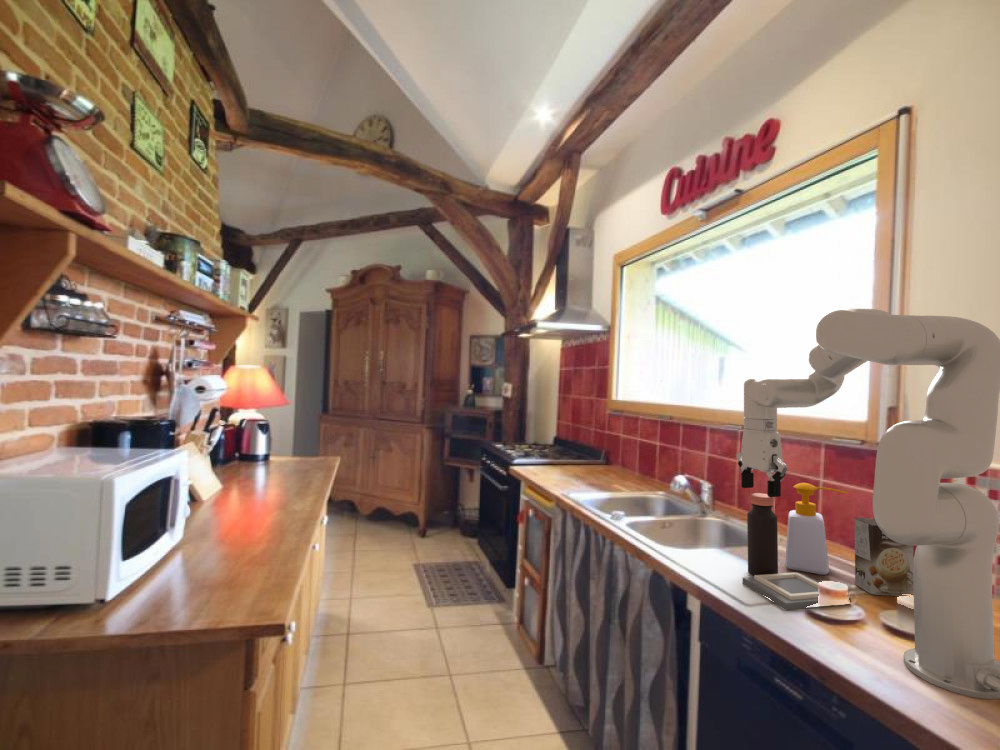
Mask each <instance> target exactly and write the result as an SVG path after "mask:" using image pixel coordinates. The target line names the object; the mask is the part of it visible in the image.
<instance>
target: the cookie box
mask: <svg viewBox="0 0 1000 750" xmlns="http://www.w3.org/2000/svg"><path fill="white" fill-rule="evenodd" d="M913 564H914V546H912V545H904V544H900V543H897V542H895V541H893V540H891V539H890V538H888V537H887V536H886V535H885V534H884V533H883V532H882V531H881V530H880V528H879V527H878V525H877V523H876V521H875V518H872V517H871V518H869V517H868V518H867V517H866V518H865V517H854V584H855V585H856V586H858V587H859V588H861V589H863V590H864V591H865V592H867V593H868V594H870V595H874V596H893V597H899V596H898V595H902V594H911V595H914V579H913V573H914V570H913Z"/></svg>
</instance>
